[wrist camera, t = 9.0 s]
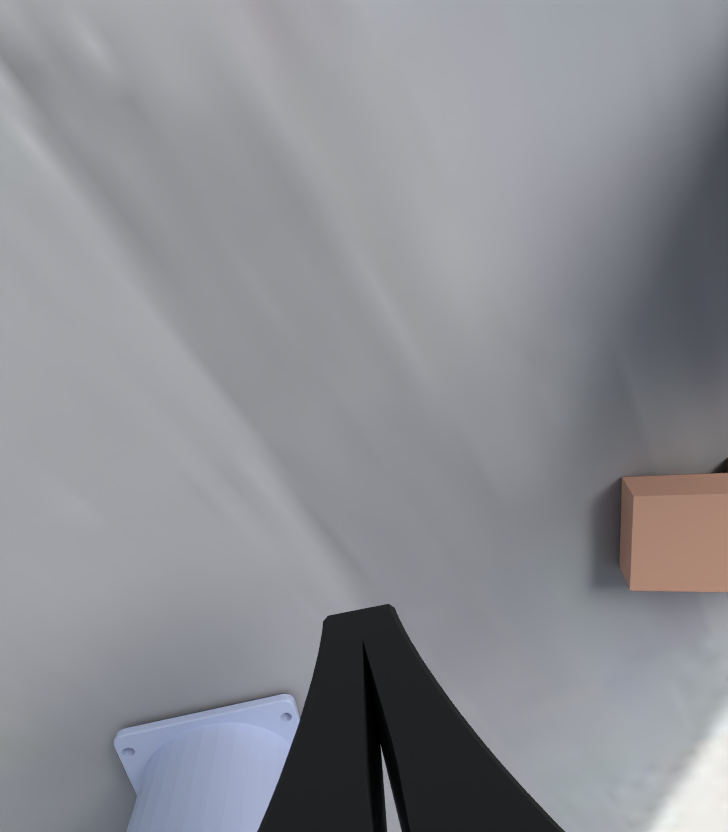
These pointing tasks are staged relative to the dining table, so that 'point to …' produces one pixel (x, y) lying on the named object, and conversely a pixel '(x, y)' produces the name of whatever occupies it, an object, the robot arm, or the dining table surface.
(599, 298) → the dining table surface
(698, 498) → the domino
